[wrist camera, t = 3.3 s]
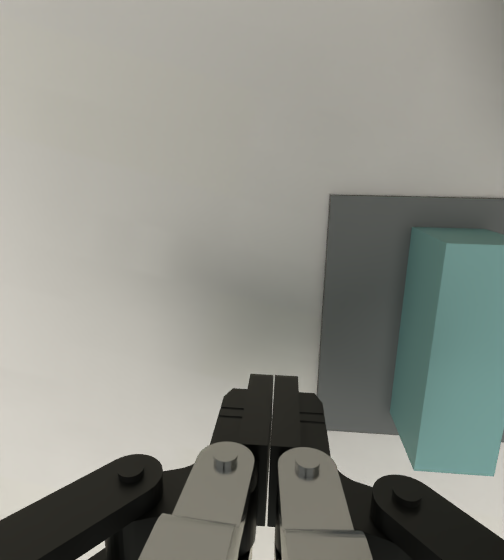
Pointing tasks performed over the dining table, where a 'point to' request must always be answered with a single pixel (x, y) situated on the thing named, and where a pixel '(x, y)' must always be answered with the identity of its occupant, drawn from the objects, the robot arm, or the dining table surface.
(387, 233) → the mat
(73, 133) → the dining table surface
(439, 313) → the t block
